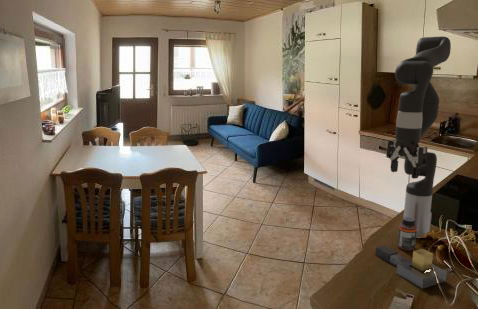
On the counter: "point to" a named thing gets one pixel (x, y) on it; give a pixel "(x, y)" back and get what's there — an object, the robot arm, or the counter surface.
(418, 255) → the peg
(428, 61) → the robot arm
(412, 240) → the supplement bottle
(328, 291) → the counter surface
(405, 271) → the grey square paddle
